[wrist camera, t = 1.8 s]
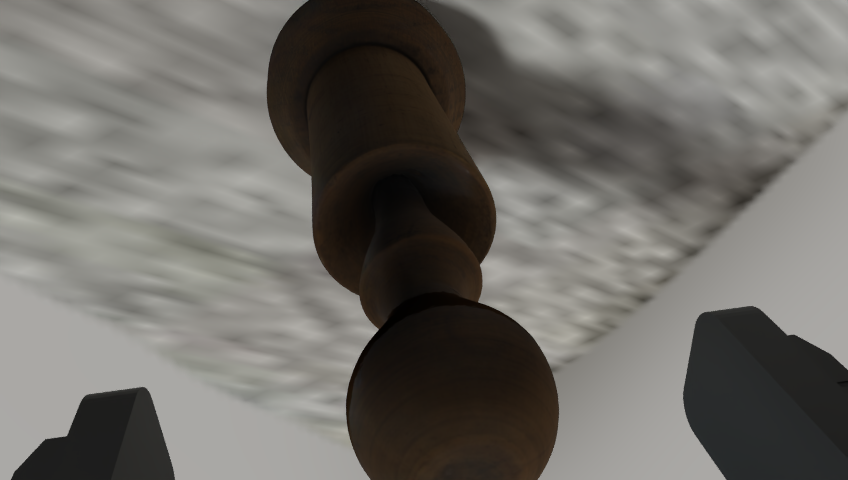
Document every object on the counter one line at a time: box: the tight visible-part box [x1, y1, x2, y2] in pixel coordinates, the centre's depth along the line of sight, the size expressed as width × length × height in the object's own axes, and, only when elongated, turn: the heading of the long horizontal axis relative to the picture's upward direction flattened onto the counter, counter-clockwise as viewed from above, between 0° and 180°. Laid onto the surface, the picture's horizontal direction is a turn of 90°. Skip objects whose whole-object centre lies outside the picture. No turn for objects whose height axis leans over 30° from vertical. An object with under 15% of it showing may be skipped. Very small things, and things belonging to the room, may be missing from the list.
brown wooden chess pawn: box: [267, 0, 559, 480], centre depth 17 cm, size 7×6×18 cm
